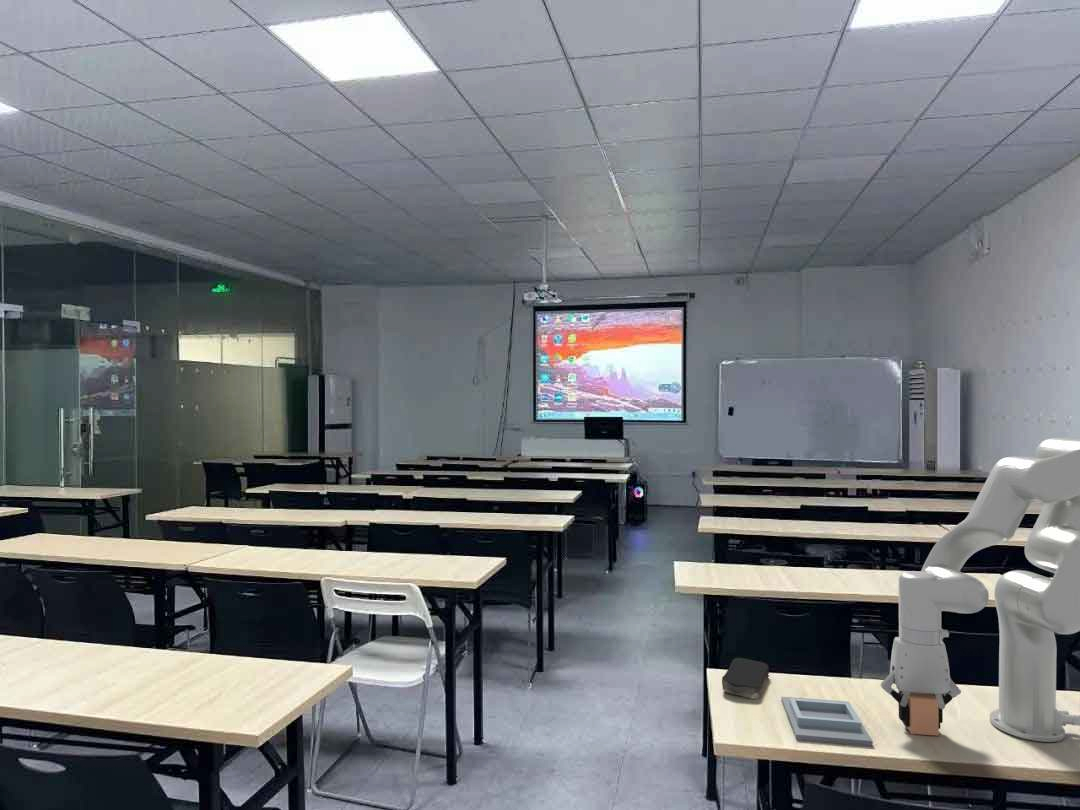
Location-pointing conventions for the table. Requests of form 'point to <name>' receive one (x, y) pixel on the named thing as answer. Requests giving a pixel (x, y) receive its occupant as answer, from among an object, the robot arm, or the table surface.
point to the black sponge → (745, 677)
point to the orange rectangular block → (923, 714)
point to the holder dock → (825, 721)
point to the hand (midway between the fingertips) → (920, 723)
